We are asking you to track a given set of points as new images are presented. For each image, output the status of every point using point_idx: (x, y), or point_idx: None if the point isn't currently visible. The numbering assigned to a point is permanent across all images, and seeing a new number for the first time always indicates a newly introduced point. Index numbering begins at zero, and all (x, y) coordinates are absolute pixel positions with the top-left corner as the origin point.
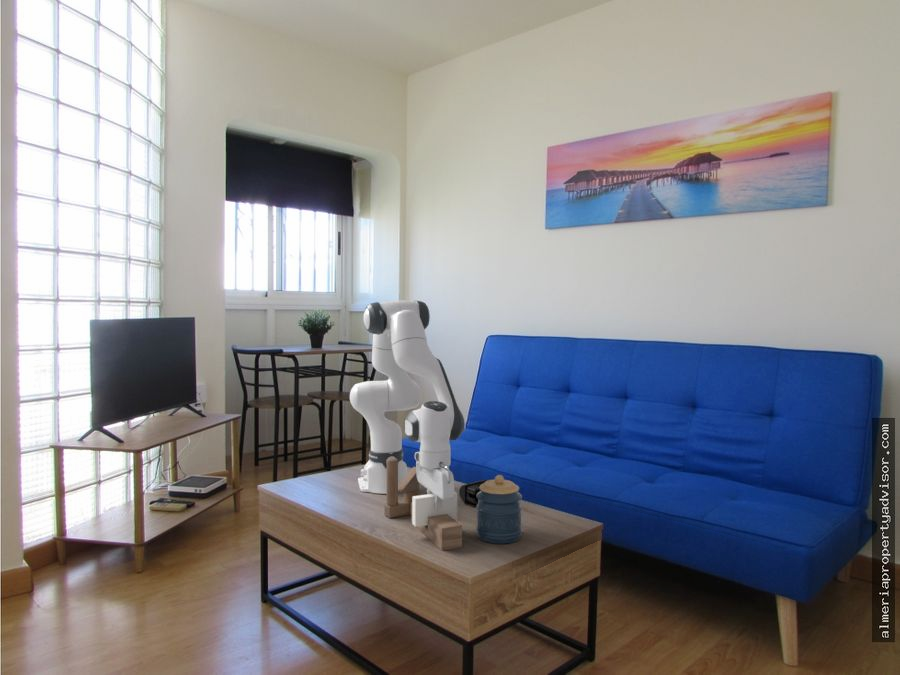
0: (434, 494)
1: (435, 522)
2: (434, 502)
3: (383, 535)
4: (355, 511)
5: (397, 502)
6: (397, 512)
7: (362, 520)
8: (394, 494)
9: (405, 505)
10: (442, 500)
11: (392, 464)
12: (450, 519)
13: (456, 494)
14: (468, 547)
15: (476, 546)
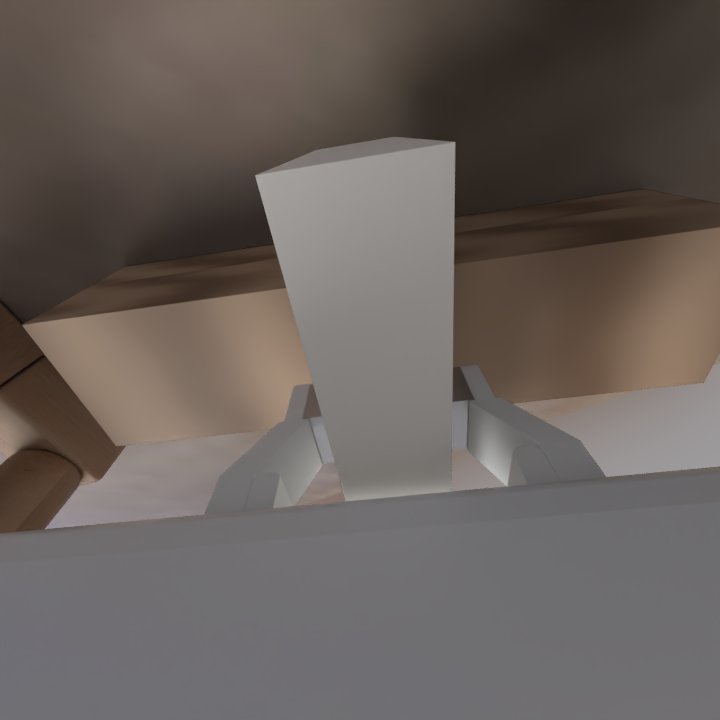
0: (380, 486)
1: (568, 393)
2: (455, 449)
3: (333, 475)
4: (59, 516)
5: (44, 463)
6: (91, 423)
7: (163, 508)
8: (23, 526)
9: (29, 408)
10: (529, 413)
11: None
12: (582, 278)
13: (446, 163)
14: (677, 144)
15: (707, 70)
